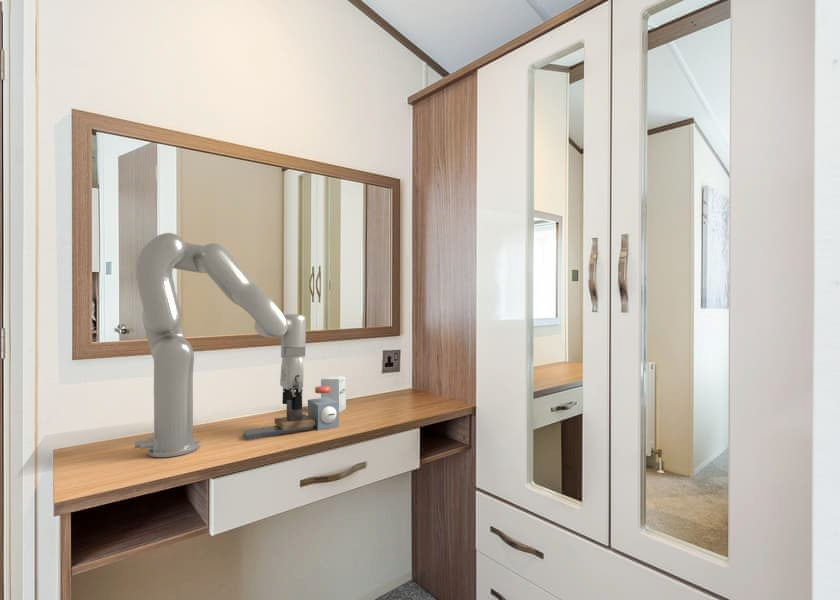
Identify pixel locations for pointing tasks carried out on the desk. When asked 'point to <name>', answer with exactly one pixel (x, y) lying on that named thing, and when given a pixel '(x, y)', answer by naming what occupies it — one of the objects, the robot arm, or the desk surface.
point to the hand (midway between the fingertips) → (291, 406)
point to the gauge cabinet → (324, 413)
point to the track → (271, 432)
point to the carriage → (294, 419)
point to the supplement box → (336, 390)
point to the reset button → (322, 389)
